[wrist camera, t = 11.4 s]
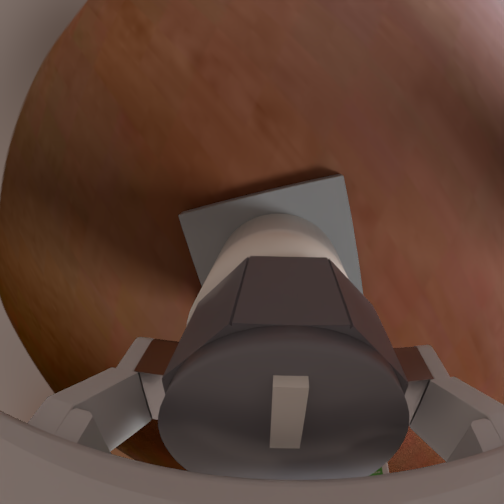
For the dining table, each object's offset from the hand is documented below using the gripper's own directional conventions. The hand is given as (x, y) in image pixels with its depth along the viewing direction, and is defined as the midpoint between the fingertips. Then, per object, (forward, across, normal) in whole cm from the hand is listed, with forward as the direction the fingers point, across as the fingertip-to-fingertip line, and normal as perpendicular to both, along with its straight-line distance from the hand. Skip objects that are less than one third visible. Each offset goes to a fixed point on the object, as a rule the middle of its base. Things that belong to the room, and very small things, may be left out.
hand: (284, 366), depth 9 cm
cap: (+1, 0, 0) cm, 1 cm away
